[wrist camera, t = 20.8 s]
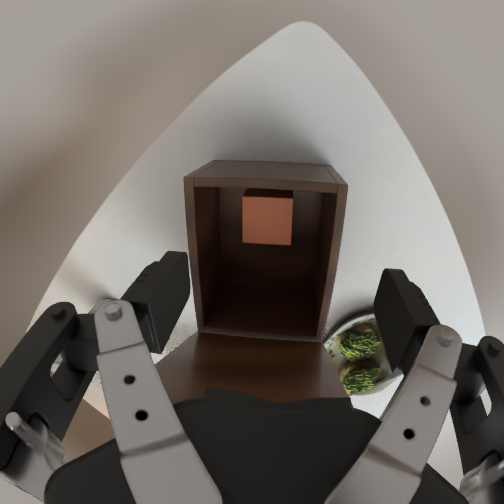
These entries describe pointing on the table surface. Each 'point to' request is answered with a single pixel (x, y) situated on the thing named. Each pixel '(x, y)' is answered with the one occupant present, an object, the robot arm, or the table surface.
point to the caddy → (264, 250)
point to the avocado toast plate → (360, 355)
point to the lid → (249, 368)
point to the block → (267, 216)
